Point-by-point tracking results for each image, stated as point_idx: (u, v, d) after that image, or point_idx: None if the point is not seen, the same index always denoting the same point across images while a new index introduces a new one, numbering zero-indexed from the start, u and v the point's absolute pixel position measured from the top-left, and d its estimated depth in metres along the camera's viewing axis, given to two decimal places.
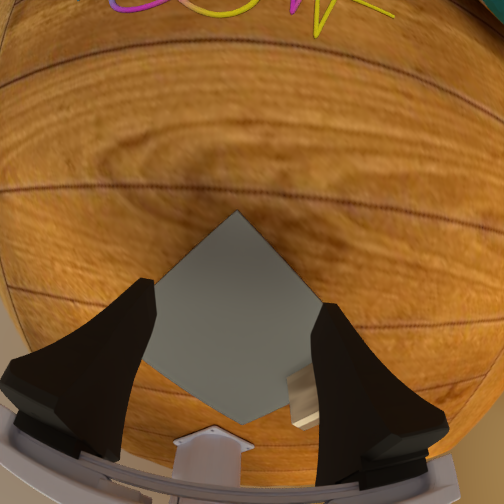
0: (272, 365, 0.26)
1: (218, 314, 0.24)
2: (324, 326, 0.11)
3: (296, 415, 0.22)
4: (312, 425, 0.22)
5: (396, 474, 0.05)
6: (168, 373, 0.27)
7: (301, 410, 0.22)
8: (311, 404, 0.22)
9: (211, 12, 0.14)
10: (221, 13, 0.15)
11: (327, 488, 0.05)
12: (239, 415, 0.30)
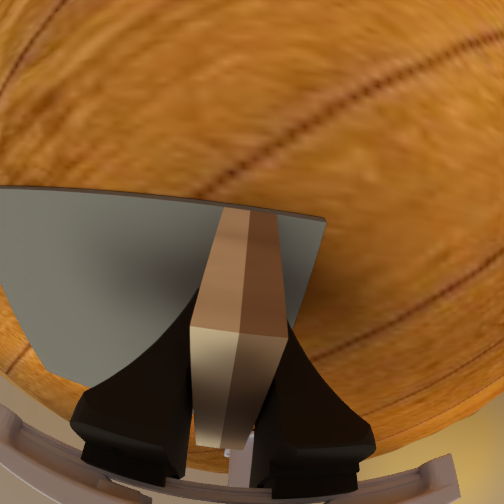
0: None
1: (51, 301, 0.14)
2: None
3: None
4: (239, 442, 0.09)
5: (314, 488, 0.05)
6: None
7: None
8: None
9: None
10: None
11: None
12: None
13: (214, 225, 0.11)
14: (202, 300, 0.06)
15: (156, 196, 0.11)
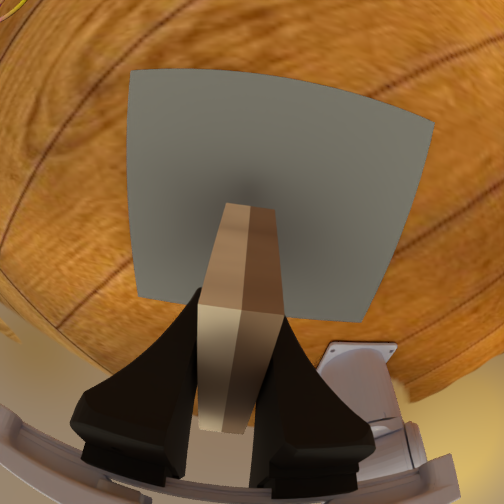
0: (325, 208, 0.18)
1: (205, 183, 0.18)
2: None
3: None
4: (240, 425, 0.10)
5: (314, 488, 0.05)
6: None
7: None
8: None
9: (20, 2, 0.08)
10: None
11: None
12: (346, 310, 0.23)
13: (379, 114, 0.15)
14: (208, 283, 0.07)
15: (344, 91, 0.14)
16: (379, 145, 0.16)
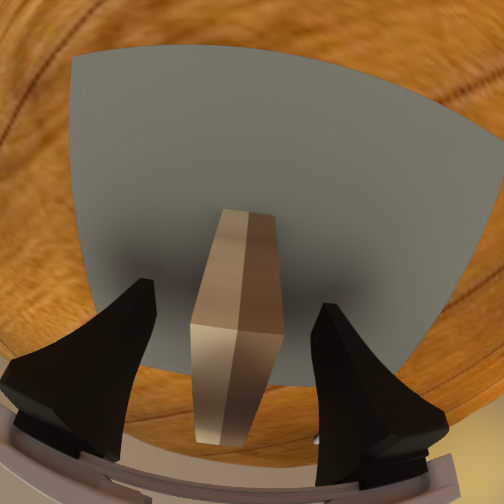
0: (365, 266, 0.12)
1: (187, 231, 0.11)
2: (324, 326, 0.11)
3: None
4: (238, 439, 0.09)
5: (395, 474, 0.05)
6: None
7: None
8: None
9: None
10: None
11: (327, 488, 0.05)
12: None
13: (453, 131, 0.08)
14: (202, 299, 0.06)
15: (407, 90, 0.08)
16: (448, 177, 0.09)
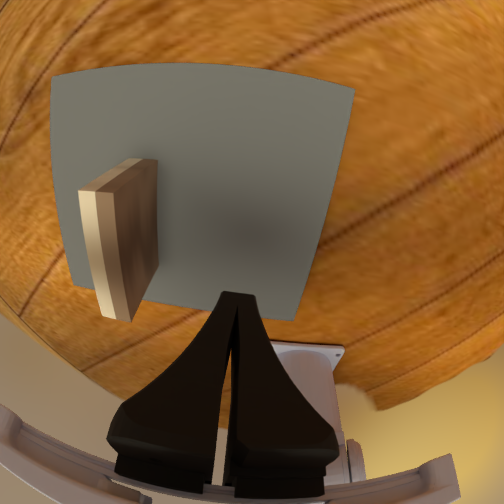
0: (226, 192, 0.17)
1: None
2: (236, 317, 0.10)
3: None
4: (124, 308, 0.15)
5: (277, 489, 0.05)
6: (146, 293, 0.22)
7: None
8: None
9: None
10: None
11: (327, 488, 0.05)
12: (273, 306, 0.22)
13: (280, 85, 0.14)
14: (88, 184, 0.12)
15: (238, 66, 0.13)
16: (282, 119, 0.15)
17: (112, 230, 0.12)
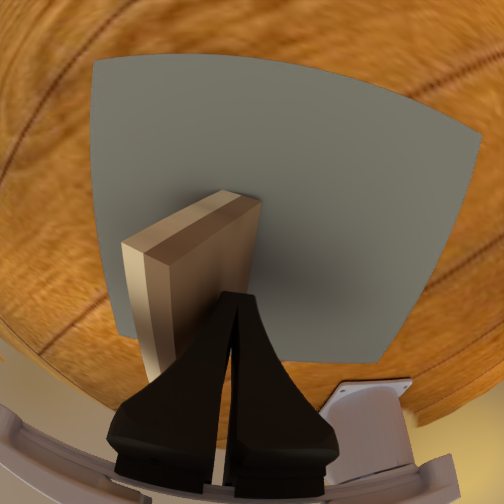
0: (347, 241, 0.14)
1: None
2: (236, 317, 0.10)
3: None
4: None
5: (277, 489, 0.05)
6: None
7: None
8: None
9: None
10: None
11: (327, 488, 0.05)
12: (362, 352, 0.19)
13: (422, 121, 0.10)
14: (141, 233, 0.09)
15: (378, 87, 0.10)
16: (419, 162, 0.11)
17: (166, 312, 0.08)
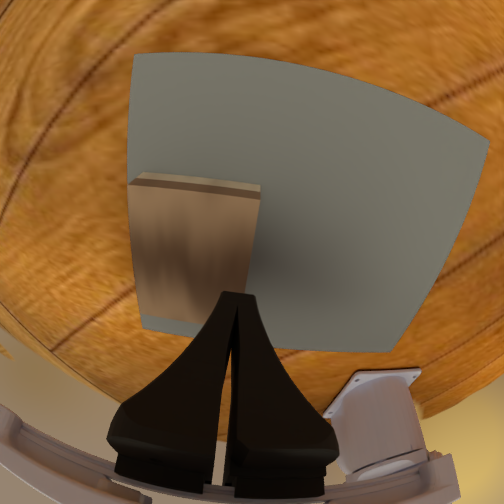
0: (371, 235, 0.15)
1: None
2: (236, 317, 0.10)
3: None
4: None
5: (277, 489, 0.05)
6: None
7: None
8: None
9: None
10: None
11: (327, 488, 0.05)
12: (378, 341, 0.20)
13: (439, 128, 0.11)
14: (156, 173, 0.13)
15: (403, 96, 0.11)
16: (435, 164, 0.12)
17: None
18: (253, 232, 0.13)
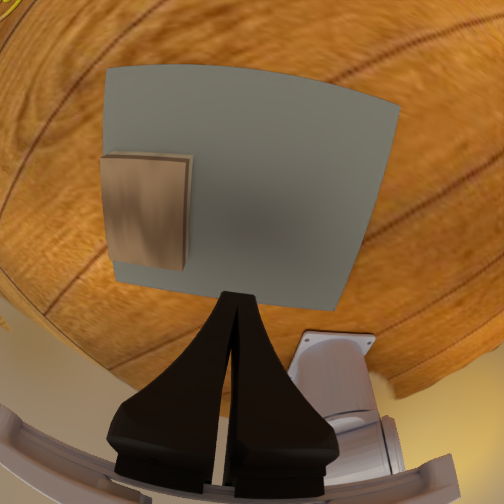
0: (288, 192, 0.19)
1: None
2: (236, 317, 0.10)
3: None
4: None
5: (277, 489, 0.05)
6: (196, 288, 0.23)
7: None
8: None
9: (13, 5, 0.08)
10: None
11: (327, 488, 0.05)
12: (318, 297, 0.24)
13: (340, 98, 0.15)
14: (122, 151, 0.17)
15: (303, 78, 0.15)
16: (340, 129, 0.16)
17: None
18: (183, 187, 0.17)
